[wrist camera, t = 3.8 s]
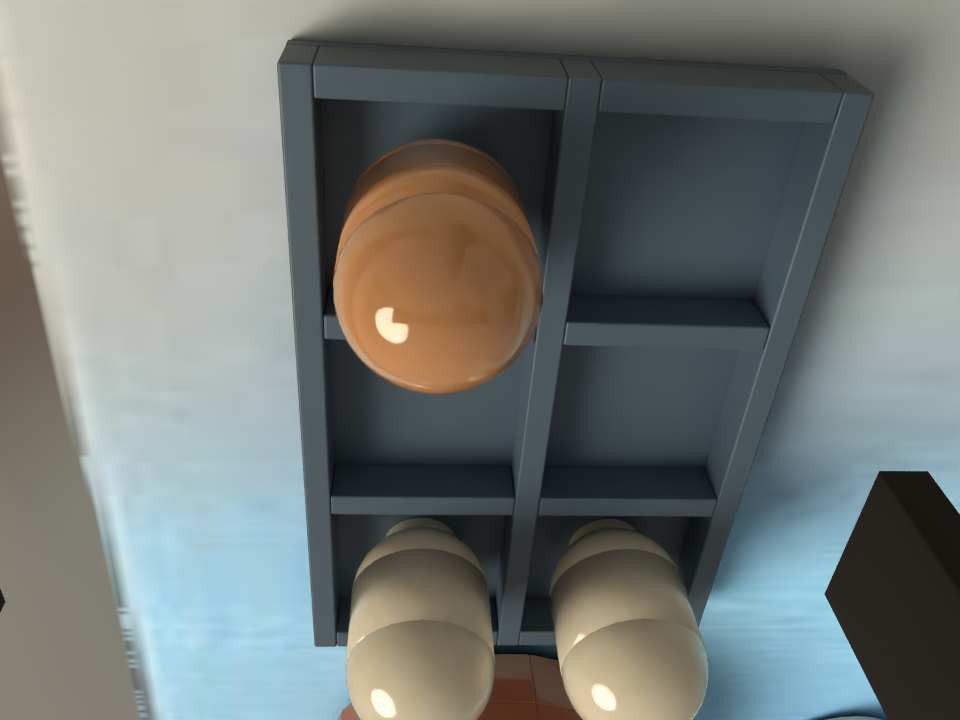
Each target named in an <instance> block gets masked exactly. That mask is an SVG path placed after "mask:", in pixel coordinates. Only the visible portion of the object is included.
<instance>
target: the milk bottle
mask: <svg viewBox="0 0 960 720" xmlns="http://www.w3.org/2000/svg"><path fill="white" fill-rule="evenodd" d="M826 720H883V719H877V718H873V717H862V716H851V717H839V718H833V719H826Z"/></svg>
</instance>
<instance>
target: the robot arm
mask: <svg viewBox="0 0 960 720" xmlns="http://www.w3.org/2000/svg"><path fill="white" fill-rule="evenodd" d="M825 596H826V598H827V600H828V602H829V604H830V606H831V608H832V610H833V612H834V614H835V616H836V618H837V620H838V622H839V624H840V626H841V627H842V629H843V631H844V633H845V635H846V637H847V639H848V641H849V643H850V645H851V647H852V649H853V651H854V653H855V655H856V657H857V659H858V661H859V663H860V665H861V667H862V669H863V671H864V673H865V675H866V677H867V679H868V681H869V683H870V685H871V687H872V689H873V691H874V693H875V695H876V697H877V699H878V701H879V703H880V705H881V707H882V709H883V711H884V713H885V715H886V717H887V719H888V720H960V514H959V513H958V512H957V510H956V509H955V508H954V506H953V505H952V503H951V502H950V501H949V499H948V498H947V497H946V495H945V494H944V493H943V491H942V490H941V489H940V487H939V486H938V485H937V483H936V482H935V481H934V479H933V478H932V476H931V475H930V474H929V472H928V471H879V473H878V475H877V478H876V480H875V482H874V484H873V487H872V489H871V491H870V493H869V496H868V498H867V500H866V502H865V505H864V507H863V509H862V511H861V514H860V516H859V518H858V520H857V523H856V525H855V527H854V529H853V532H852V534H851V536H850V538H849V540H848V543H847V545H846V547H845V549H844V552H843V554H842V556H841V558H840V561H839V563H838V565H837V567H836V570H835V572H834V574H833V576H832V579H831V581H830V583H829V585H828V588H827V590H826V592H825ZM4 604H5V600H4V597H3V594H2V592H1V590H0V612H1V610H2V608H3V606H4Z"/></svg>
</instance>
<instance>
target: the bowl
mask: <svg viewBox="0 0 960 720" xmlns="http://www.w3.org/2000/svg"><path fill="white" fill-rule="evenodd" d="M494 656H495V680H494V684H493V688H492V692H491V696H490V700H489V702H488V704H487V706H486V707H485V709H484V711H483V713H482V715H481V716H480V718H479V719H478V720H582V719H581V718H580V716H579V715H578V714H577V713H576V711H575V710H574V708H573V707H572V705H571V703H570V701H569V699H568V697H567V694H566V691H565V688H564V684H563V681H562V677H561V671H560V665H559V660H554V659H549V658H545V657H540V656H536V655H530V656H529V655H528V654H494ZM338 720H360V718H359V716H358V714H357V713H356V711H355V709H354V707H353V706H352V704H350V705H349V706H347V707H346V708H345V709H344V710H343V712H342V713H341V715H340V717H339V719H338Z"/></svg>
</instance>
